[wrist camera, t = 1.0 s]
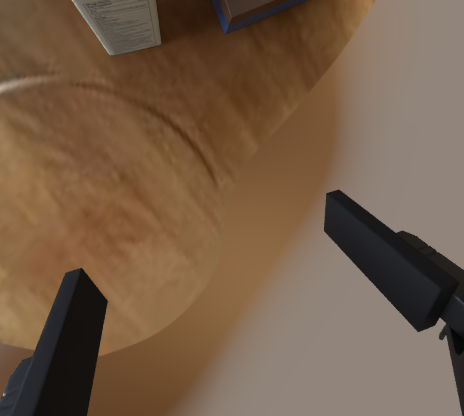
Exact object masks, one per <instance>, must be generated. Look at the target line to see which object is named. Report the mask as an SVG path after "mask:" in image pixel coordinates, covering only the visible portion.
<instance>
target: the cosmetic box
mask: <svg viewBox="0 0 464 416" xmlns="http://www.w3.org/2000/svg"><path fill="white" fill-rule="evenodd" d="M72 1H73V3H74V4H75V6H76V7H77V9H78V10H79V11H80V13H81V14H82V16H83V17H84V19H85V20H86V21H87V23H88V24H89V26H90V27H91V29H92V30H93V32H94V33H95V34H96V36H97V37H98V39H99V40H100V42H101V43H102V45H103V46H104V48H105V49H106V50H107V52H108V53H109V55H117V54H123V53H128V52H133V51H137V50H142V49H146V48H150V47H154V46H158V45H161V37H160V29H159V21H158V13H157V6H156V0H72Z"/></svg>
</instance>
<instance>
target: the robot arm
mask: <svg viewBox="0 0 464 416" xmlns="http://www.w3.org/2000/svg"><path fill="white" fill-rule="evenodd" d="M324 231H325V232H326V234H327V235H328V236H329V237H330V238H331V239H332V240H333V241H334V242H335V243H336V244H337V245H338V246H339V247H340V249H341V250H342V251H343V252H344V253H345V254H346V255H347V256H348V257H349V258H350V259H351V260H352V262H353V263H354V264H355V265H356V266H357V267H358V268H359V269H360V270H361V271H362V272H363V273H364V274H365V276H366V277H368V279H369V280H370V281H371V282H372V283H373V284H374V285H375V286H376V287H377V288H378V289H379V291H380V292H381V293H382V294H383V295H384V296H385V297H386V298H387V299H388V300H389V301H390V302H391V303H392V304H393V306H394V307H395V308H396V309H397V310H398V311H399V312H400V313H401V314H402V315H403V316H404V317H405V319H407V321H408V322H409V323H410V324H411V325H412V326H413V327H414V328H415V329H416V330H417V331H418V332H420V331H423V330H425V329H428V328H430V327H432V326H435V324H436V323H437V321H438V319H439V318H441V319H442V320H443V321H444V322H446V325H445V326H444V328H443V329H442V331H441V333H440V335H439V339H440V340H443V339H444V337H445V335H447V340H448V346H449V351H450V356H451V360H452V366H453V370H454V376H455V381H456V385H457V391H458V396H459V401H460V406H461V411H462V415H463V416H464V270H463V269H461V268H460V267H458V266H457V265H456V264H454V263H453V262H452V261H450V260H449V259H447V258H446V257H445V256H443V255H442V254H440V253H439V252H436V250H435V249H433V248H432V247H431V246H428V245H427V244H426V243H425V242H423V241H422V240H421V239H419V238H418V237H417V236H415V235H412V234H410V233H407V232H405V231H400V232H398V233H395V232H394V231H393V230H391V229H390V228H389V227H387V226H386V225H385V224H383V223H382V222H381V221H379V220H378V219H377V218H376V217H374V216H373V215H372V214H370V213H369V212H368V211H366V210H365V209H364V208H362V207H361V206H360V205H359V204H357V203H356V202H355V201H353V200H352V199H351V198H349V197H348V196H347V195H345V194H344V193H343V192H342V191H340V190H336V191H332V192H329V193H327V194H326V208H325V223H324ZM107 302H108V301H107V299H106V298H105V297H104V296H103V294H102V293H101V292H100V290H99V289H98V288H97V287H96V285H95V284H94V283H93V282H92V280H91V279H90V278H89V277H88V275H87V274H86V273H85V271H84V270H83V269H82V268H80V269H77V270H73V271H70V272H67V273H65V275H64V278H63V281H62V283H61V286H60V288H59V291H58V293H57V296H56V298H55V301H54V303H53V306H52V308H51V311H50V314H49V316H48V319H47V321H46V324H45V326H44V329H43V331H42V334H41V336H40V339H39V342H38V344H37V347H36V349H35V352H34V355H33V357H30V358H27V359H24V360H22V362H21V363H20V364H19V366H18V367H17V368H16V370H15V371H14V373H13V374H12V375H11V376H10V379H9V381H8V384H7V386H6V388H5V390H4V393H3V394H4V395H3V397H1V399H0V416H87V412H88V407H89V401H90V395H91V389H92V385H93V379H94V373H95V368H96V362H97V357H98V352H99V346H100V341H101V335H102V330H103V324H104V319H105V313H106V308H107Z"/></svg>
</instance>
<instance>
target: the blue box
mask: <svg viewBox="0 0 464 416" xmlns="http://www.w3.org/2000/svg"><path fill="white" fill-rule="evenodd" d="M305 1H307V0H290V1H287V2H285V3H282V4H280V5H277V6H275V7H273V8H270V9H268V10H265V11H263V12H260V13H258V14H255V15H253V16H251V17H248V18H246V19H243V20H241V21H238V22H236V23H233V24H231V25H228V23H227V21H226V18H225V15H224V13H223V10H222V7H221V5H220V2H219V0H212V3H213V5H214V8H215V11H216V13H217V16H218V18H219V21H220V24H221V26H222V29H223V31H224V34H227V33H230V32H232V31H235V30H237V29H239V28H242V27H244V26H247V25H249V24H251V23H254V22H256V21H259V20H261V19H264V18H266V17H268V16H271V15H273V14H276V13H278V12H280V11H283V10H285V9H288V8H290V7H293V6H295V5H297V4H300V3H302V2H305Z"/></svg>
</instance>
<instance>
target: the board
mask: <svg viewBox="0 0 464 416" xmlns="http://www.w3.org/2000/svg"><path fill="white" fill-rule="evenodd" d="M287 1H290V0H219V2H220V5H221V7H222V10H223V13H224V15H225V18H226V21H227V23H228V25H231V24H233V23H236V22H238V21H241V20H243V19H246V18H248V17H251V16H253V15H255V14H258V13H260V12H263V11H265V10H268V9H270V8H273V7H275V6H277V5H280V4H282V3H285V2H287Z"/></svg>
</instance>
